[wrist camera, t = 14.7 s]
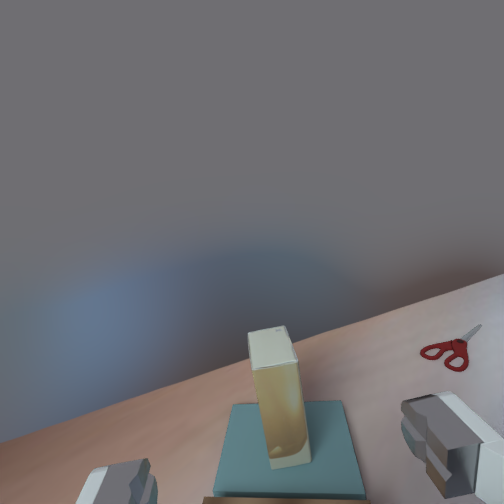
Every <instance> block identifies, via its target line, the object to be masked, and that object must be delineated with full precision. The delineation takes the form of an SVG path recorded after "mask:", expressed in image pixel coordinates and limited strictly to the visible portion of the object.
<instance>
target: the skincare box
mask: <svg viewBox="0 0 504 504" xmlns="http://www.w3.org/2000/svg"><path fill="white" fill-rule="evenodd" d="M248 346H249V355H250V362H251V368H252V373H253V378H254V384H255V389H256V394H257V399H258V404H259V409H260V414H261V419H262V424H263V429H264V434H265V439H266V445H267V450H268V456H269V460H270V465H271V469H272V470H274V469H280V468H286V467H291V466H296V465H301V464H306V463H310V462H311V461H312V457H311V450H310V442H309V435H308V428H307V421H306V413H305V406H304V399H303V392H302V384H301V377H300V370H299V363H298V359H297V356H296V353H295V351H294V348H293V345H292V343H291V340H290V338H289V335H288V332H287V330H286V327H285V326H280V327H274V328H269V329H264V330H258V331H254V332H249V333H248Z"/></svg>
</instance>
